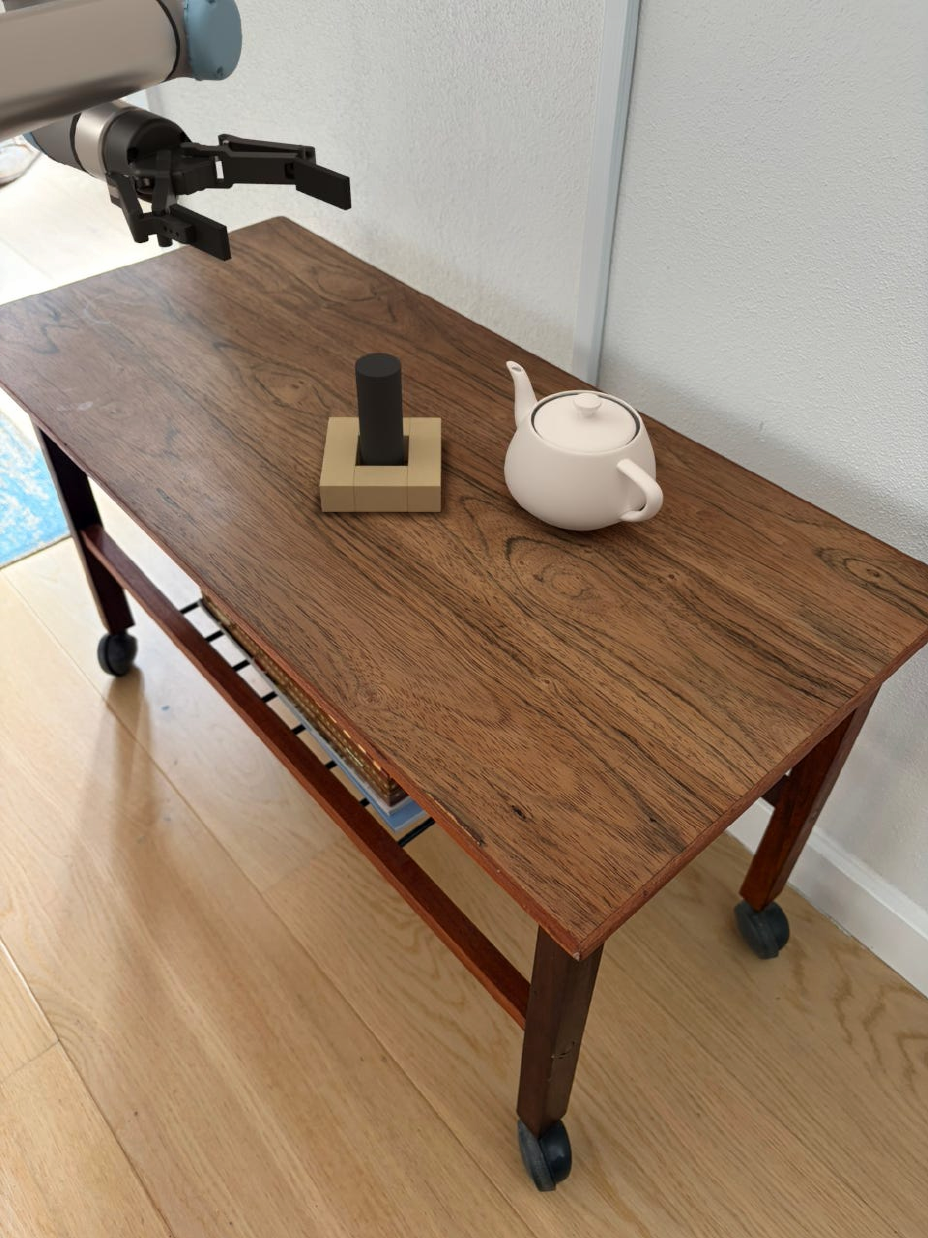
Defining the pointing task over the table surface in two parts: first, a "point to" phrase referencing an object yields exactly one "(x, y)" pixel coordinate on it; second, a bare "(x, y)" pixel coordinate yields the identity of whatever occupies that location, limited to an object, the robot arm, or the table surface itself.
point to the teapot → (580, 458)
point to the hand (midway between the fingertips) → (289, 217)
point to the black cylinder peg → (380, 409)
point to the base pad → (381, 470)
